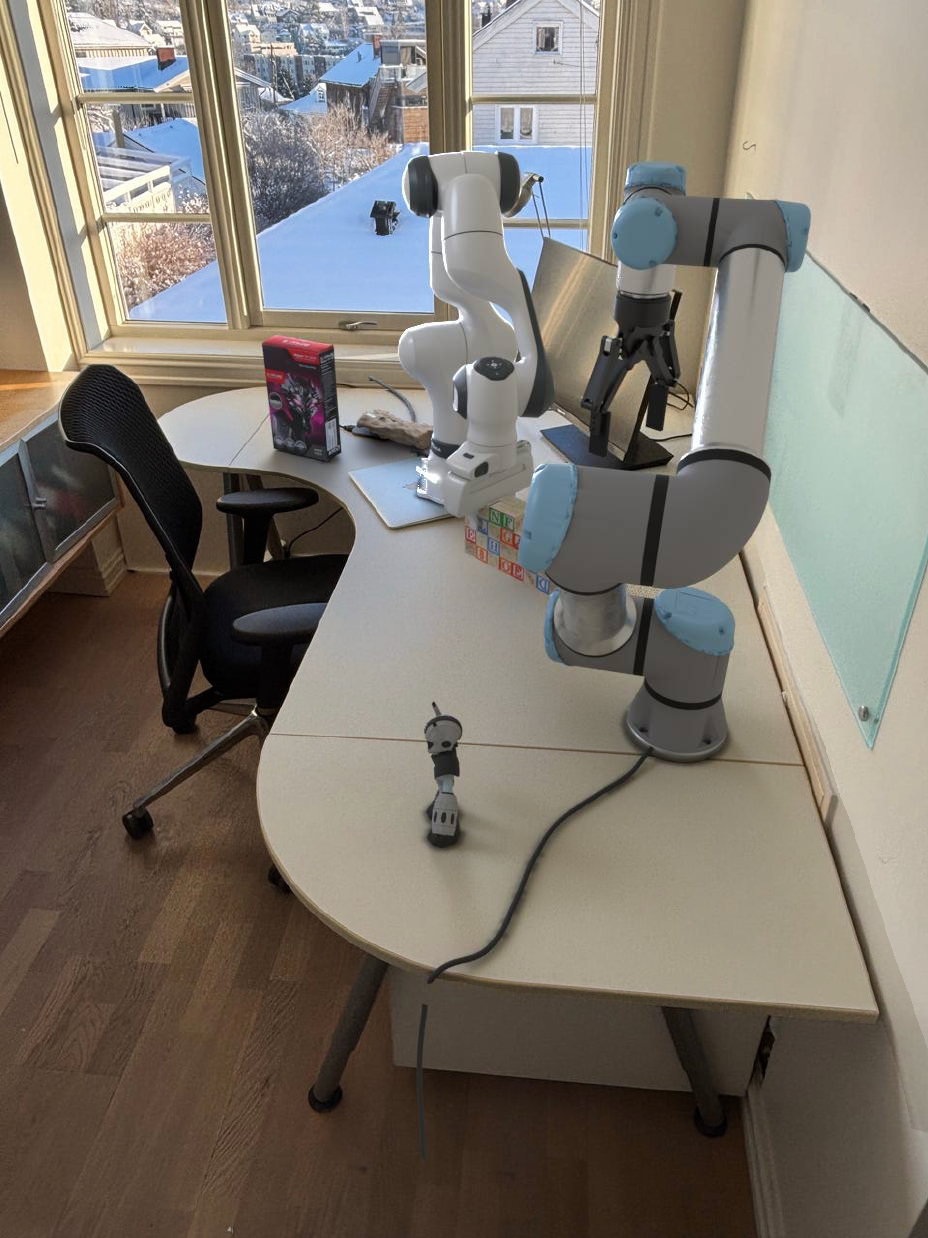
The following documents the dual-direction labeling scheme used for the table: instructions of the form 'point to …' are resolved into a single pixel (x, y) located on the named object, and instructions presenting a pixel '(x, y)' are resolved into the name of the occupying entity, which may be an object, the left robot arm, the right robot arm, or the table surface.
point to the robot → (443, 777)
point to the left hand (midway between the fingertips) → (489, 521)
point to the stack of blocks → (503, 541)
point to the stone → (396, 428)
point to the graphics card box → (302, 396)
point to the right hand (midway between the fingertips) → (626, 441)
